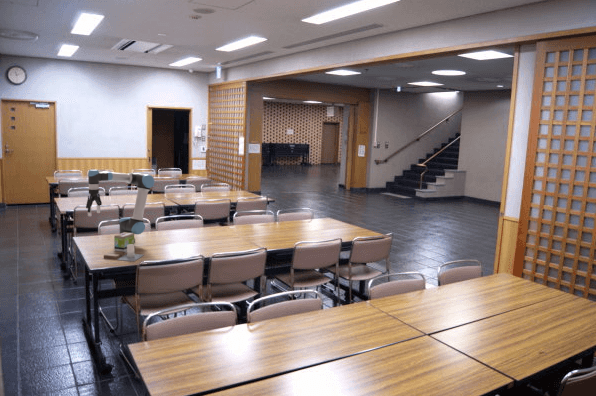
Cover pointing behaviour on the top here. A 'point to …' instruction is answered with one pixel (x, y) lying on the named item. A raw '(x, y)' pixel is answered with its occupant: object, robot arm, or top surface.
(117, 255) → the walnut deck
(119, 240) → the tea box
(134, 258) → the slate mat
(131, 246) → the ceramic canister
